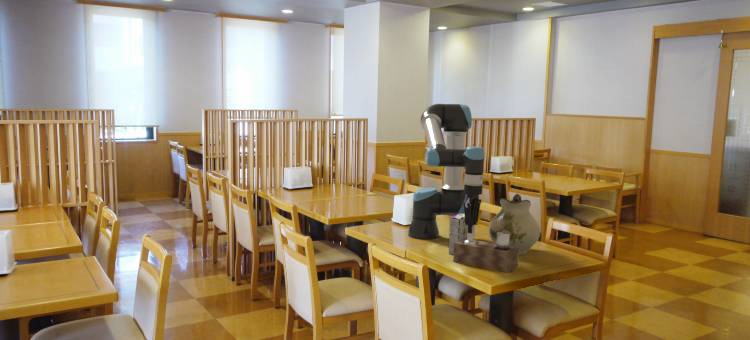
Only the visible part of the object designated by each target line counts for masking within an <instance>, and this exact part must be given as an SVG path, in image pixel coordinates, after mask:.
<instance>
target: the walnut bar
mask: <svg viewBox="0 0 750 340" xmlns="http://www.w3.org/2000/svg"><path fill="white" fill-rule="evenodd" d="M464 240H467V239H465V238H464V239H462V240H460V241H457V242H455V243H454V255H453V259H452V260H453V261H452V262H454V263H458V264H463V265H469V266H474V267H479V268H484V269H488V270H494V271H498V272H504V273H511V272H512V271H513V270H516V269H517V268H518V266H519V255H518V253H519V248H517V247H511V246H509V250H507V251H505V250H499V249H496V244H495V243H494V242H488V241H482V240H477V239H475V240H476V241H477V244H475V245H471V244H466V243H464Z"/></svg>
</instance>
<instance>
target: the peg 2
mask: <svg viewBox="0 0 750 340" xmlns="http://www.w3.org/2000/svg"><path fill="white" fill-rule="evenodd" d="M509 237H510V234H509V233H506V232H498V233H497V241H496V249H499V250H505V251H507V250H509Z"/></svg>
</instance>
